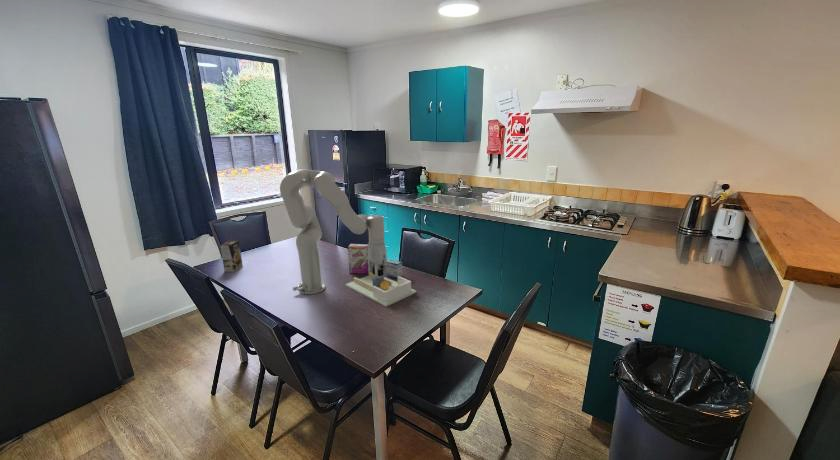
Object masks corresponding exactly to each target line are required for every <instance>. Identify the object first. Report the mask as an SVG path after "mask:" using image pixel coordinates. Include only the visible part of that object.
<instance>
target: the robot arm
mask: <svg viewBox="0 0 840 460" xmlns="http://www.w3.org/2000/svg"><path fill="white" fill-rule="evenodd" d="M335 179H336V178H335V176H334V175H333V174H332V173H330V172H328V171H322V170H313V169H308V168H307V169H305V168H302V169H301V168H300V169H297V170H293V171H291V172H289V173H288V174H287V175H285V176H284V177H283V178H282V180H281V182H280V183H279V184H280V185H279V192H280V196H281V198H282V201H283V204H284V206H285V210H286V211H287V214H288V218H289V220H290V222H291V225H292V226H293V227H294V228H296V229H301V231H300V232H299V233H298V234H297V236H296V239H295V243H296V244H295V245H296V249H297V254H298V258H299V267H300V268H299V269H300V276H301V277H300V278H301V281H299V284H298V285H296V286H292V290H293V292H296V291H298V292H299V293H300V294H303V295H316V294H319V293H321V292H323V291H325V289H326V285H325V283H324V282H322V274H321V272H322V271H321V262H320V261H321V260H320V252H319V248H318V243H319V242H320V240H321V238H322V236H323V232H322V228H321V225H320V222H319V220H318V216H317V214H316V212H315V210H314V209H313V207H311V206H309V205H307V204H305V202H304V199H303V196H302V195H301V193H300V190H301V189H304V188H305V187H306V188H307V187H308V188H314V190H316V191H317V192H318V193H319V194H320V195H321V196H322V197H323V198H324V200H326V201H327V203H328V204H329V205H330V206H331V207H332V208H333V209H334V211H335V213H336V215H337V216H338V217H339V220H340V221H341V222H342V224H344V226H346V227H347V228H348V229H349V231H351V232H352V233H353V234H355V235H362V234H364V233H365V232H366V230H367V229H368V243H367V245H368V252H367V255H368V260H369V261H370V265H371V267H372V273H373V275H374V274H375V264H378V277H380V276H383V275H384V269H385V267H386V266H387V261H388V257H387V249H386V248H387V246H386V243H385V242H386V241H385V219H384V217H383V216H382V215H380V214H373V215H368V214H364V213H363V214H357V213H356V212H355V211H354V209H353V208H352V206H351V204H350V201H349V197H348V196H347V194H346V193H345V192H344V191H343V190H342V189H341V188H340V187H339V185H338V184H336V180H335ZM374 263H375V264H374ZM380 265H381V266H380ZM384 276H385V275H384Z"/></svg>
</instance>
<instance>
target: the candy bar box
mask: <svg viewBox="0 0 840 460" xmlns="http://www.w3.org/2000/svg"><path fill="white" fill-rule="evenodd" d="M347 249H348V251H347V252H348V269H349V274H359V275H362V274H363V275H369V272H371V262H370V261H369V260H368V255H367V252H368V243H367V244H363V243H362V244H360V243H350V244H349V245H348V246H347Z"/></svg>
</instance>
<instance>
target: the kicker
mask: <svg viewBox="0 0 840 460" xmlns="http://www.w3.org/2000/svg"><path fill="white" fill-rule="evenodd" d="M374 264H375V263H374ZM381 265H382V264H381ZM381 265H380V266H381ZM384 277H385V275H383V276H380V277H378V264H375V277H374V278H372V282H373V286H376V287H379V286H380V283H381V282H382V281H384Z"/></svg>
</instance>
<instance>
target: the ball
mask: <svg viewBox="0 0 840 460" xmlns="http://www.w3.org/2000/svg"><path fill="white" fill-rule="evenodd" d="M380 287H381V289H383V290H386V289H388V288H389V283H388V282H387V281H382V282H381V283H380Z"/></svg>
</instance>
